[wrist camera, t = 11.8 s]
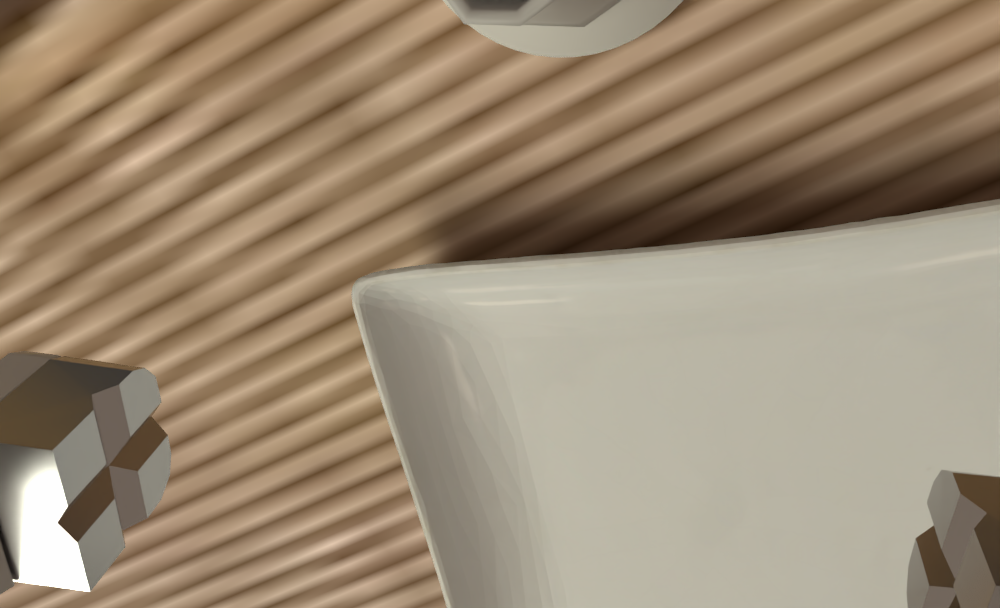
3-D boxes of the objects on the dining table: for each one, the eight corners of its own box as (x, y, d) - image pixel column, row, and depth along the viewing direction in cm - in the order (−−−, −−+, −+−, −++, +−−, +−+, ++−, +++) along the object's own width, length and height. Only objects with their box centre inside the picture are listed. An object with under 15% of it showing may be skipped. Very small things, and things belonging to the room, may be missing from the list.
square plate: (507, 721, 47) (494, 791, 44) (369, 236, 36) (337, 280, 32) (1097, 724, 41) (1135, 806, 38) (1167, 134, 29) (1232, 176, 26)
